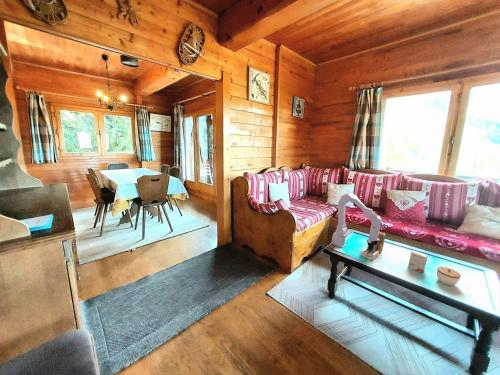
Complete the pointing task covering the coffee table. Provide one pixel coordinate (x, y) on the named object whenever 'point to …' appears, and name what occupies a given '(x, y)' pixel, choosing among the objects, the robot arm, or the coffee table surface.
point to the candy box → (380, 242)
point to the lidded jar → (448, 276)
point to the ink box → (417, 261)
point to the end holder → (370, 254)
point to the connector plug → (372, 249)
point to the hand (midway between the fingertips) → (371, 249)
